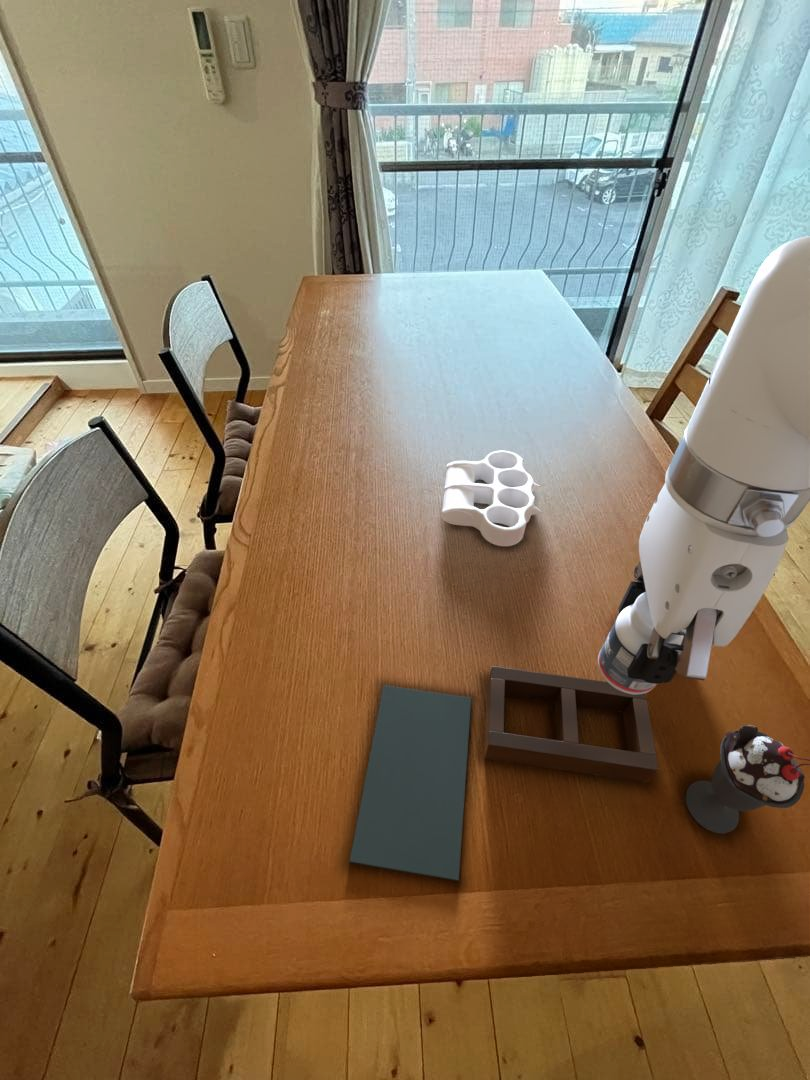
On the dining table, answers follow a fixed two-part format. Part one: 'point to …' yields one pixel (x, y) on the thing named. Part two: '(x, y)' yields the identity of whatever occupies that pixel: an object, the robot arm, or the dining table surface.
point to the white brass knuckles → (490, 496)
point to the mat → (415, 785)
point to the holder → (569, 726)
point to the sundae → (746, 780)
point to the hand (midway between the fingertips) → (642, 643)
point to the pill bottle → (628, 646)
